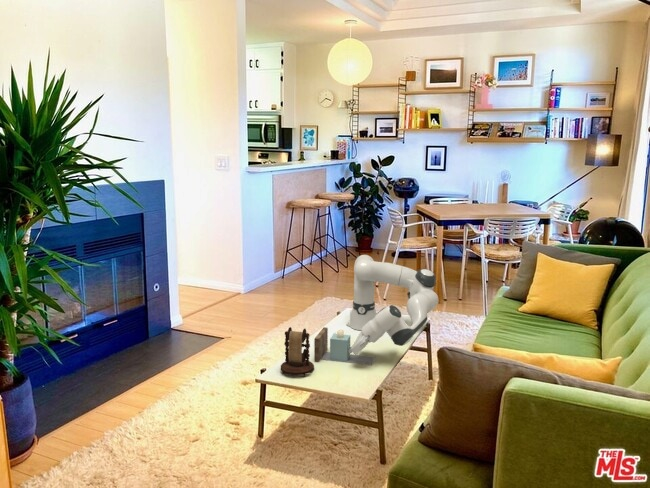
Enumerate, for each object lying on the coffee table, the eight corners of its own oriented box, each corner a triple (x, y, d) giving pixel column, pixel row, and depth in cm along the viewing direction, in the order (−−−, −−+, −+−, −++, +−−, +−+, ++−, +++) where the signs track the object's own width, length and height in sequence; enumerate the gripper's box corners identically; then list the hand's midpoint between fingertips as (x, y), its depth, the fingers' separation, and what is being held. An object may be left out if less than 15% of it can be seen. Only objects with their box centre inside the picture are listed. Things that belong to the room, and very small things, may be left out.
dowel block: (333, 353, 256) (333, 327, 253) (350, 355, 253) (350, 329, 251) (330, 359, 249) (330, 332, 246) (347, 361, 247) (347, 334, 244)
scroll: (275, 376, 233) (275, 332, 229) (287, 363, 247) (286, 321, 243) (308, 380, 229) (308, 335, 226) (318, 366, 243) (317, 324, 240)
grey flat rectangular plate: (325, 353, 258) (325, 351, 258) (375, 358, 252) (375, 356, 252) (320, 361, 249) (320, 359, 249) (371, 367, 243) (371, 365, 242)
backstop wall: (323, 350, 262) (323, 327, 259) (327, 351, 261) (327, 327, 259) (314, 363, 246) (314, 338, 244) (318, 364, 246) (318, 339, 244)
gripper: (371, 345, 235) (349, 364, 239) (379, 330, 254) (358, 348, 258) (361, 335, 235) (340, 354, 239) (369, 320, 254) (349, 338, 259)
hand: (349, 351), depth 249 cm, fingers closed, pressing on dowel block
